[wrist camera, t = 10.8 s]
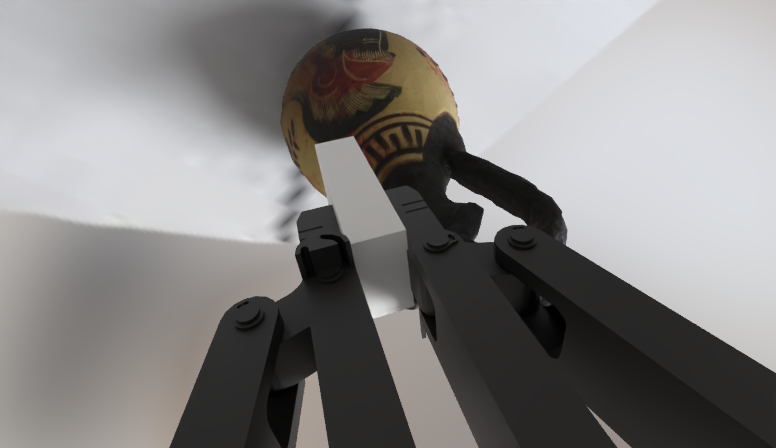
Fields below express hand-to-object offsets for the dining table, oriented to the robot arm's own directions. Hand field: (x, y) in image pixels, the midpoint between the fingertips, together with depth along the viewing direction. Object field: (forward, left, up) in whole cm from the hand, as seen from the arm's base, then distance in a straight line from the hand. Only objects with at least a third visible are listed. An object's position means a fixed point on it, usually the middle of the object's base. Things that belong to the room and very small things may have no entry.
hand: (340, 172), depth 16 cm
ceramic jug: (-6, +6, -29) cm, 30 cm away
